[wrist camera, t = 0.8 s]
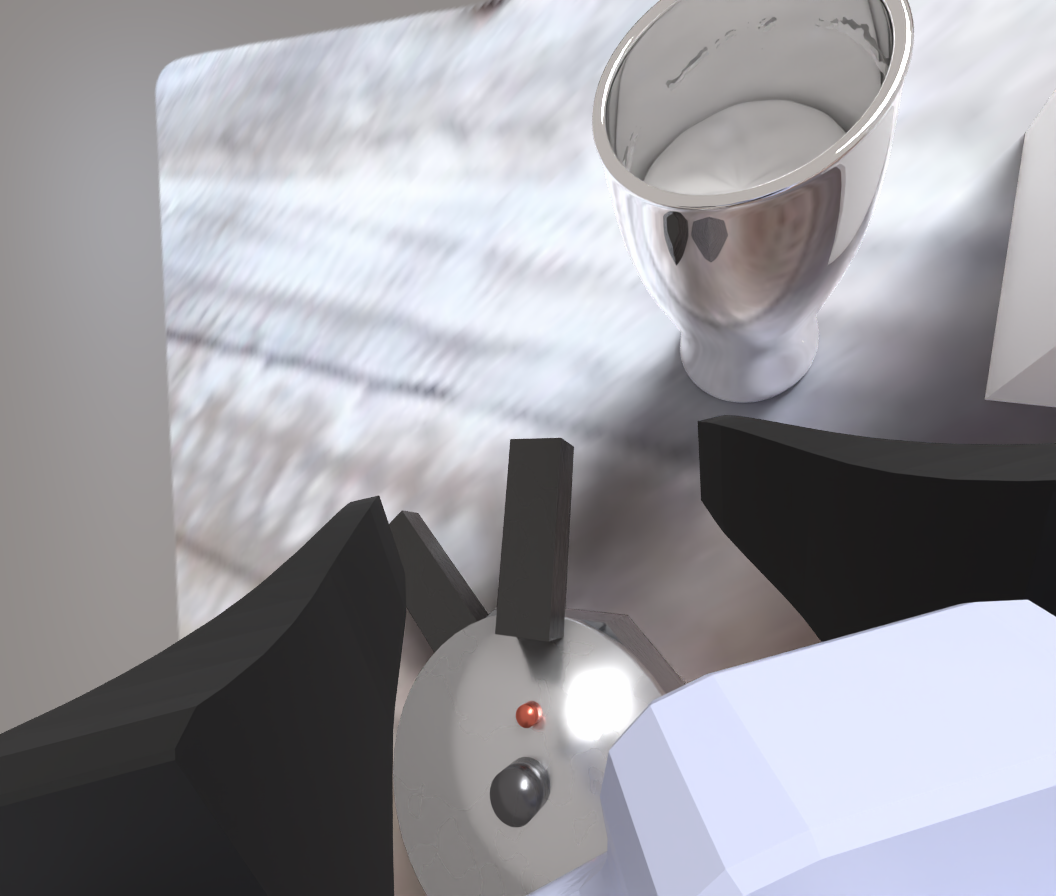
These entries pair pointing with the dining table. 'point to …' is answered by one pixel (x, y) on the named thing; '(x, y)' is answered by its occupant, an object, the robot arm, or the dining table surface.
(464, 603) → the pot
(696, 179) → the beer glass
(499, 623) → the lid
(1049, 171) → the milk
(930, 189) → the dining table surface
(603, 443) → the dining table surface
